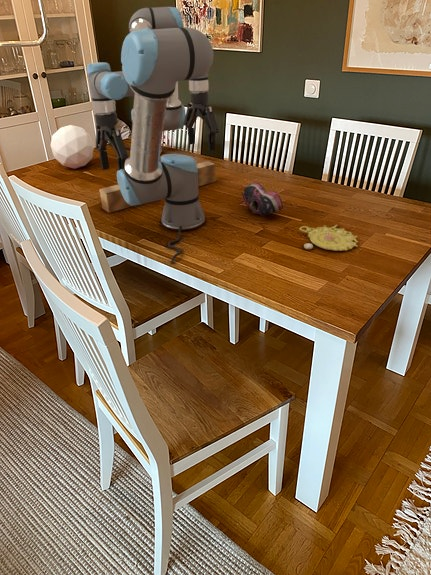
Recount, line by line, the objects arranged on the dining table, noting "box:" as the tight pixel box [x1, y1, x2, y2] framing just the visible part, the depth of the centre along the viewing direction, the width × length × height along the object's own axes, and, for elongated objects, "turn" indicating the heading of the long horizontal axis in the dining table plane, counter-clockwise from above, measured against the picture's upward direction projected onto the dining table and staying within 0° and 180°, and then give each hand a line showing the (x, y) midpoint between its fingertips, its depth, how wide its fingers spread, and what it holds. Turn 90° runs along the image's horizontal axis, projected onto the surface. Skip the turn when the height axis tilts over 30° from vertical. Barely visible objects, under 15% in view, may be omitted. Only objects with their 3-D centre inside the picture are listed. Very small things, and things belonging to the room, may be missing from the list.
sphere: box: [50, 124, 95, 170], centre depth 209 cm, size 19×20×20 cm
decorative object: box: [299, 224, 359, 252], centre depth 141 cm, size 21×2×20 cm
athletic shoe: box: [238, 182, 284, 217], centre depth 160 cm, size 11×22×12 cm
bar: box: [98, 160, 217, 214], centre depth 178 cm, size 51×6×8 cm, turn 129°
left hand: (201, 147), depth 183 cm, fingers open, 13 cm apart
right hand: (114, 173), depth 164 cm, fingers open, 13 cm apart
